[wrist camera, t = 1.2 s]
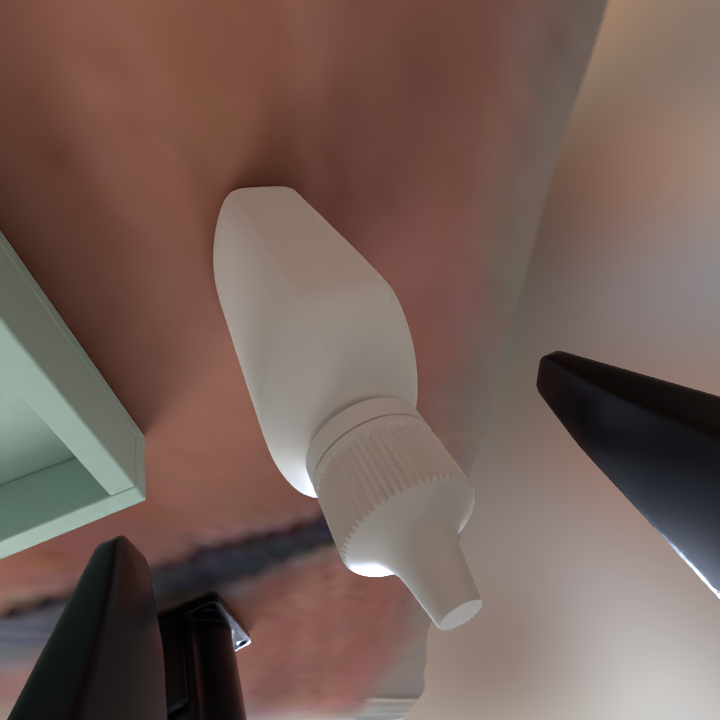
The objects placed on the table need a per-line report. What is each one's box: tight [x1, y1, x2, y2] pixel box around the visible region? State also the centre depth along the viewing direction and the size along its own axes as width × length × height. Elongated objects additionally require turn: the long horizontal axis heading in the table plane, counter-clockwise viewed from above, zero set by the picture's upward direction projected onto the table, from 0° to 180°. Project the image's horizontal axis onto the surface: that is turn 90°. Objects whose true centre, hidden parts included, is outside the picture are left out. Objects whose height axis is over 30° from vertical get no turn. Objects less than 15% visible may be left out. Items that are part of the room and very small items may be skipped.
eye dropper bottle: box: [213, 186, 482, 631], centre depth 10 cm, size 4×6×12 cm
